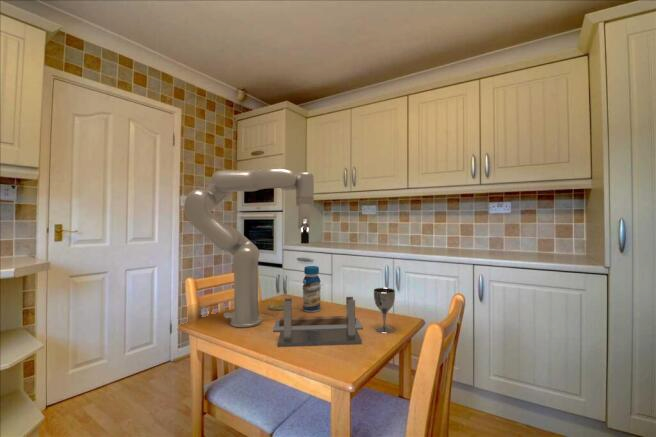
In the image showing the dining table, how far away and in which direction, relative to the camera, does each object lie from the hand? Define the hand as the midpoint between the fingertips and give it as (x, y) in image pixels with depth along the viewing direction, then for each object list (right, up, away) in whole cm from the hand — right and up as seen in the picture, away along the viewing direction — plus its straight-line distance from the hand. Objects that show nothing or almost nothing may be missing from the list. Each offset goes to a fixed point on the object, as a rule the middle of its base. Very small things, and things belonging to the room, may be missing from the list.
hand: (305, 242), depth 128 cm
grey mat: (+6, -32, -8) cm, 34 cm away
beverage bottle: (+2, -33, +13) cm, 35 cm away
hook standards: (+7, -32, -22) cm, 39 cm away
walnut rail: (+6, -32, -8) cm, 33 cm away
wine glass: (+31, -32, -13) cm, 47 cm away
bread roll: (-14, -33, +17) cm, 40 cm away
